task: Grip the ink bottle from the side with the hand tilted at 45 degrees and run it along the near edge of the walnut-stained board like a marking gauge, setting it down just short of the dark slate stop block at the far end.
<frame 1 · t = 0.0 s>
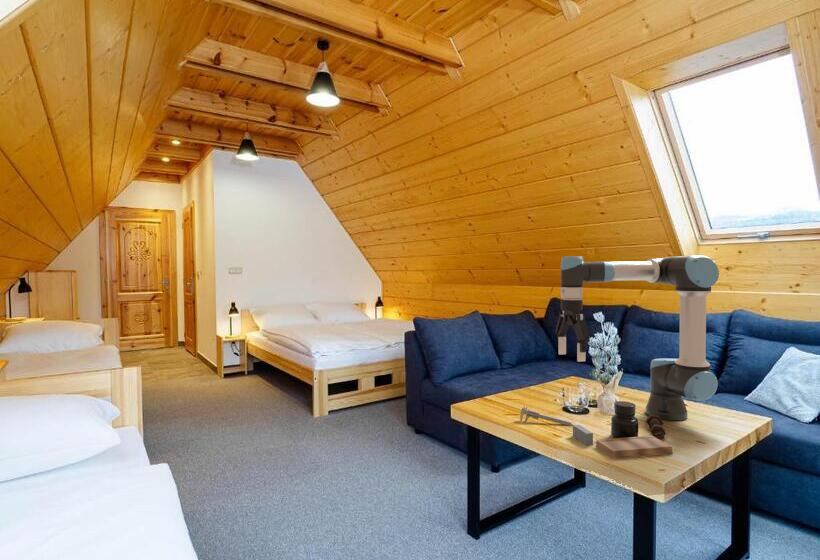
hand: (571, 357, 173), 28 cm above the table, tool pointing down, fingers open, 13 cm apart
caliper: (547, 424, 186), on the table
stop block: (582, 440, 167), on the table
board: (633, 450, 158), on the table
bolt: (656, 435, 173), on the table
ink bottle: (624, 437, 170), on the table
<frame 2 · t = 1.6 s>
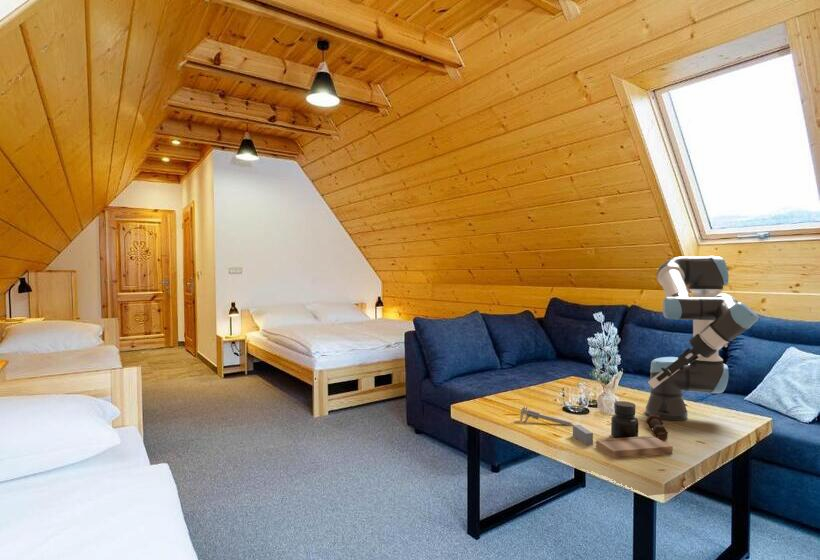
hand: (656, 381, 162), 22 cm above the table, tool tilted 45°, fingers open, 13 cm apart
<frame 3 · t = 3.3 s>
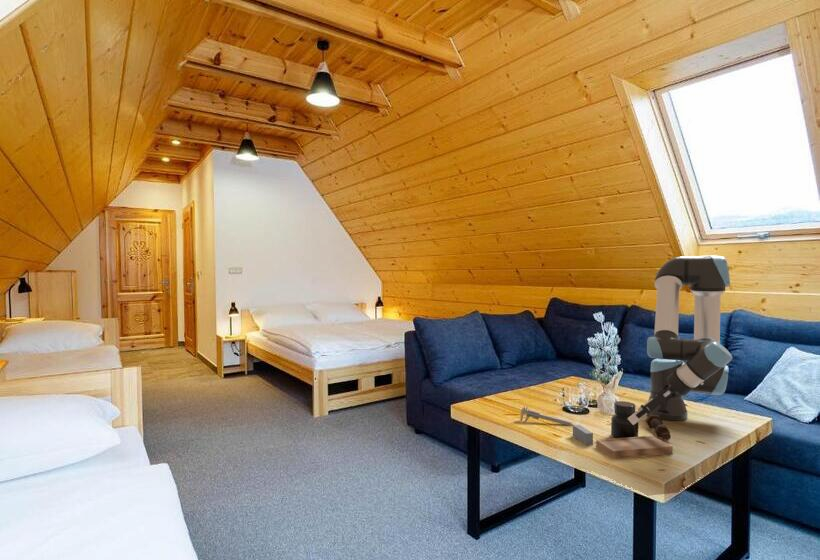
hand: (635, 416, 166), 9 cm above the table, tool tilted 45°, fingers open, 13 cm apart
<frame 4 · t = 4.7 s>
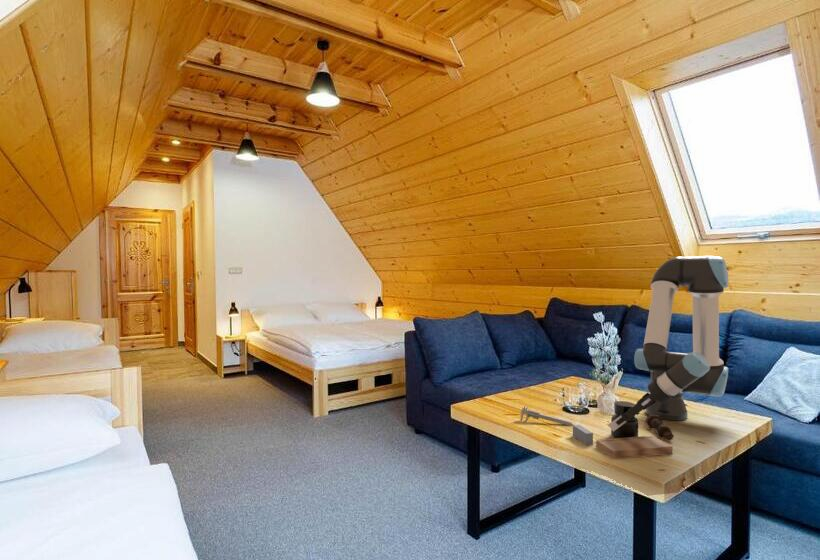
hand: (615, 424, 172), 4 cm above the table, tool tilted 45°, fingers closed on ink bottle, 9 cm apart
ink bottle: (624, 437, 170), on the table, touching gripper
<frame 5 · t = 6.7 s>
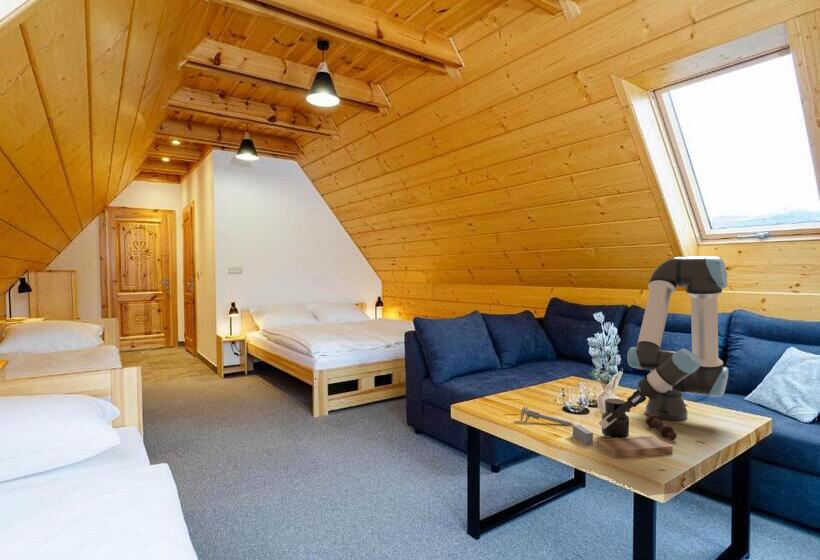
hand: (605, 422, 171), 5 cm above the table, tool tilted 45°, fingers closed on ink bottle, 9 cm apart
ink bottle: (615, 435, 169), point 1 cm above the table, touching gripper
when the fingers open (4 cm above the table, at t = 8.8 s): ink bottle stays where it is, on the table.
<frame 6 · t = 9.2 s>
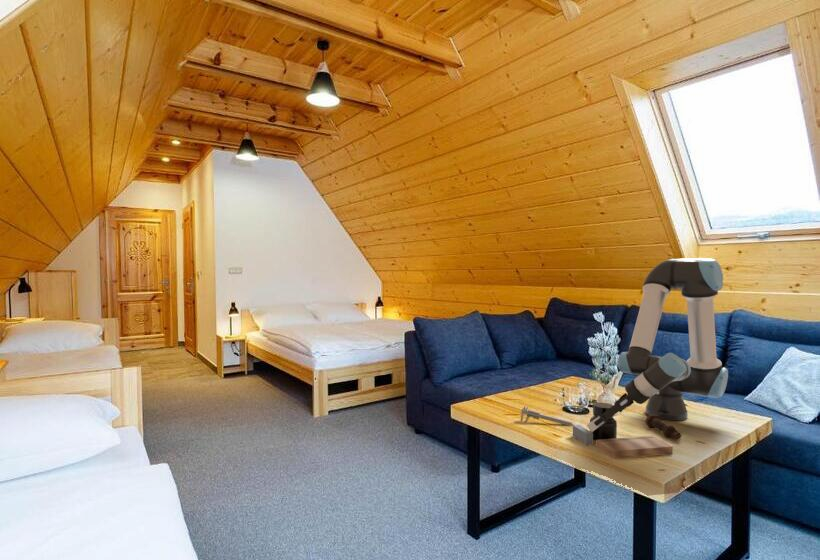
hand: (595, 423, 170), 5 cm above the table, tool tilted 45°, fingers open, 12 cm apart
ink bottle: (603, 439, 169), on the table
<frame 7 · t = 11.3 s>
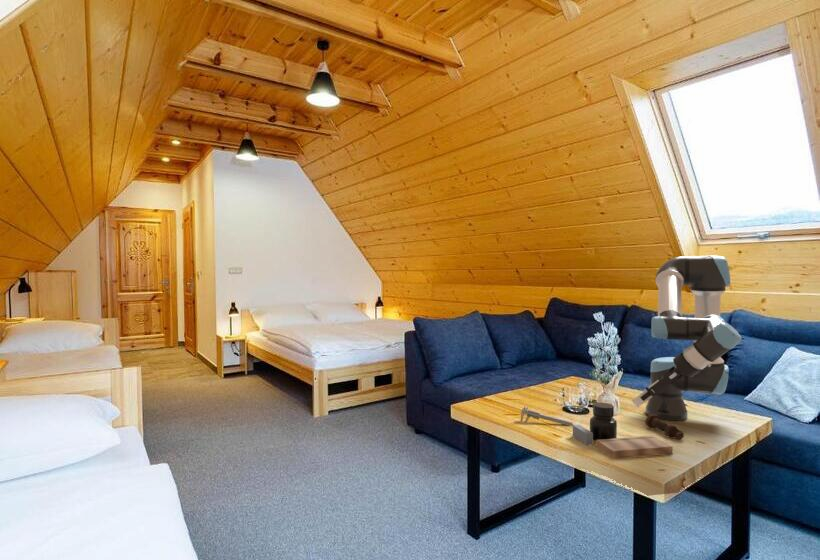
hand: (640, 398, 162), 16 cm above the table, tool tilted 45°, fingers open, 13 cm apart
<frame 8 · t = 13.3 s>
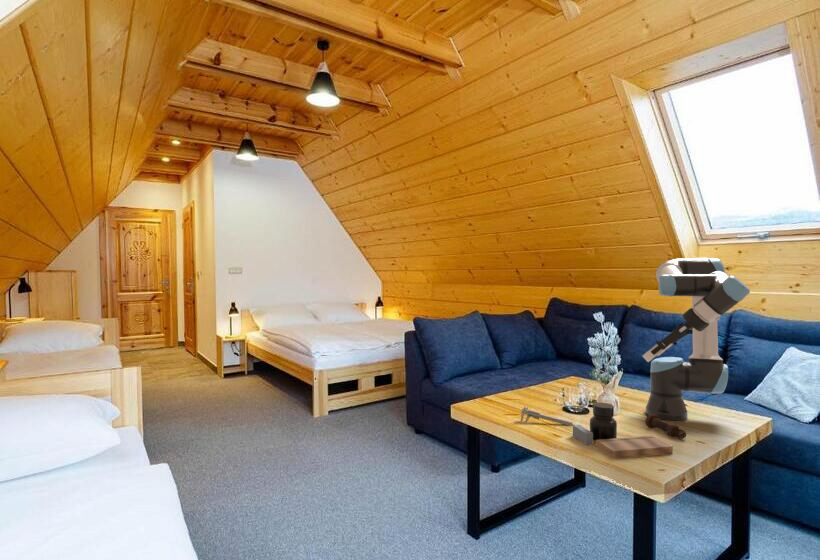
hand: (650, 356, 166), 30 cm above the table, tool tilted 45°, fingers open, 13 cm apart
at the end: ink bottle inside the target area (1.1 cm from its centre), on the table; ink bottle tilted 0°; the gripper is holding nothing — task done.
